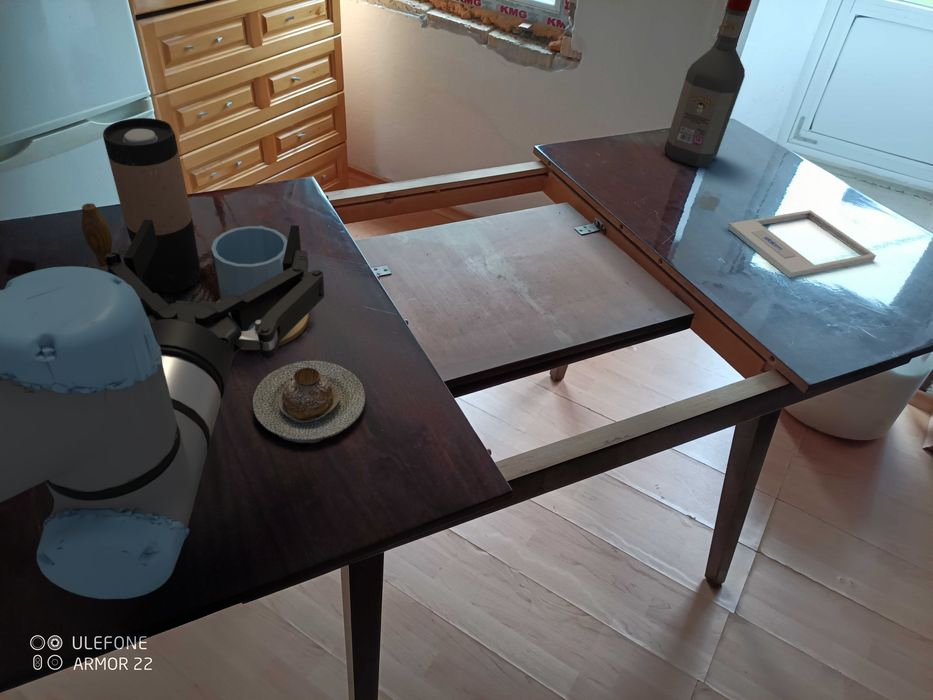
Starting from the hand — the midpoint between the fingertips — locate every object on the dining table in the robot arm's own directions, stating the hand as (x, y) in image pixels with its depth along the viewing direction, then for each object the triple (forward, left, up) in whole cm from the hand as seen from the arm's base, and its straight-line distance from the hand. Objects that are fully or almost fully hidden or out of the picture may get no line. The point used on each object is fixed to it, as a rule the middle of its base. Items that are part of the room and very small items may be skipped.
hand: (224, 234), depth 66 cm
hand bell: (-18, -1, -18) cm, 26 cm away
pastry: (+9, -1, -18) cm, 21 cm away
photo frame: (+55, +69, -18) cm, 90 cm away
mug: (-5, +10, -17) cm, 21 cm away
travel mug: (-20, +9, -18) cm, 28 cm away
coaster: (-5, +8, -18) cm, 21 cm away
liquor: (+32, +92, -18) cm, 100 cm away
